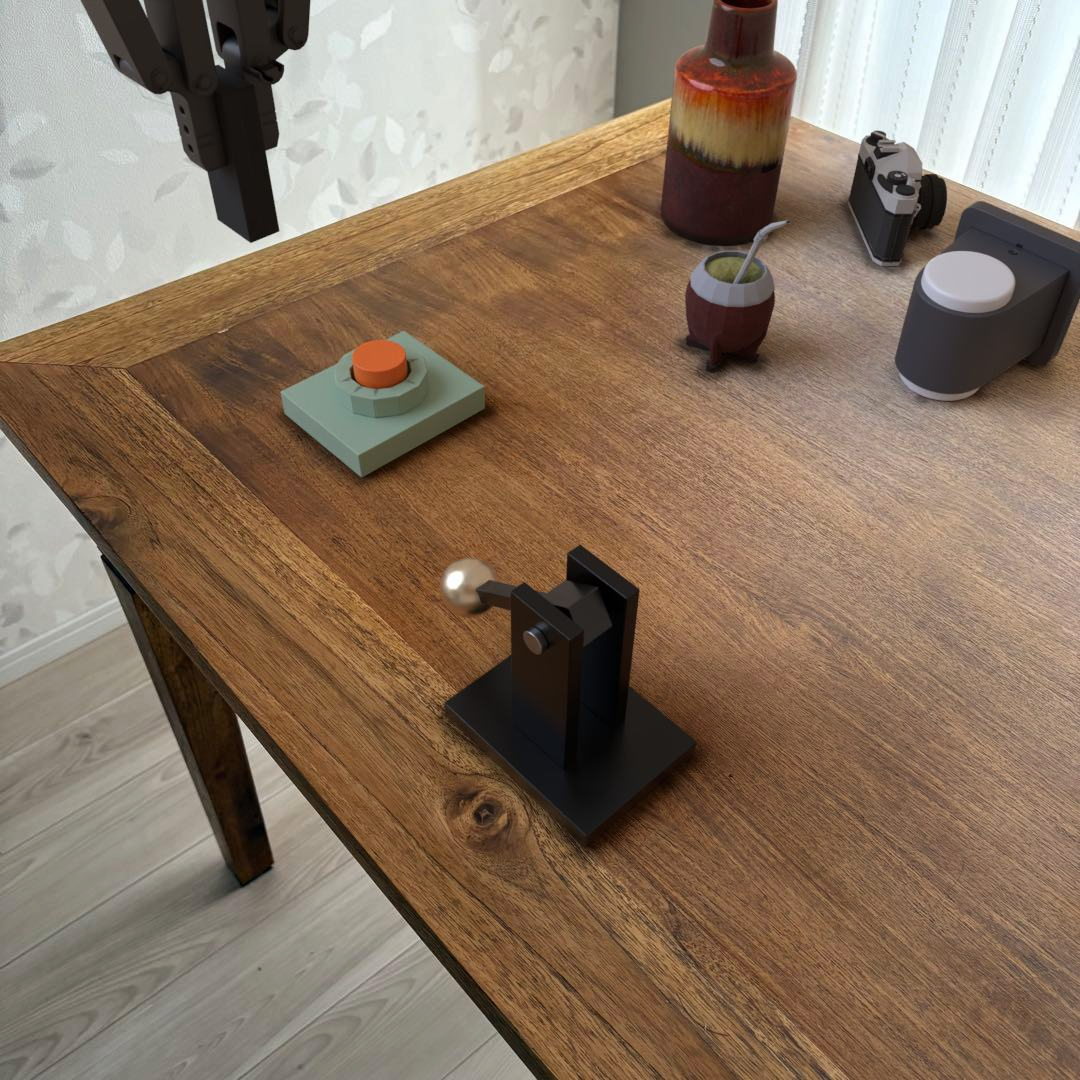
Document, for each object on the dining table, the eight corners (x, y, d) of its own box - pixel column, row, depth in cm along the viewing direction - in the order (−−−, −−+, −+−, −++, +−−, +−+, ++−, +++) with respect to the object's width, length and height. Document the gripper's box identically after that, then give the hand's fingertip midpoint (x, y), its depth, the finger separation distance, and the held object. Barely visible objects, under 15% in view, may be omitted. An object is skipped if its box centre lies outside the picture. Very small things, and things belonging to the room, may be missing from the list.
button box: (361, 478, 81) (355, 436, 78) (284, 414, 86) (276, 372, 83) (485, 408, 87) (484, 367, 84) (406, 352, 92) (402, 311, 89)
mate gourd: (695, 319, 96) (717, 154, 85) (784, 342, 94) (818, 176, 83) (665, 365, 91) (684, 197, 80) (757, 391, 89) (789, 222, 78)
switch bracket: (444, 715, 67) (432, 570, 57) (553, 636, 71) (557, 490, 62) (585, 849, 60) (596, 710, 51) (694, 754, 65) (723, 610, 56)
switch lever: (441, 624, 67) (419, 572, 66) (486, 594, 69) (465, 543, 68) (577, 665, 56) (553, 605, 55) (626, 628, 58) (604, 569, 57)
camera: (956, 268, 102) (983, 173, 96) (873, 269, 102) (895, 174, 96) (910, 207, 112) (932, 117, 106) (834, 208, 111) (853, 118, 105)
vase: (760, 188, 112) (795, -26, 98) (781, 245, 105) (823, 21, 90) (653, 190, 112) (673, -25, 97) (668, 247, 104) (691, 23, 90)
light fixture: (854, 371, 92) (880, 258, 84) (946, 304, 98) (978, 192, 90) (969, 435, 86) (1009, 320, 78) (1059, 359, 92) (1105, 245, 84)
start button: (375, 397, 82) (373, 378, 81) (343, 372, 84) (341, 354, 83) (418, 375, 84) (416, 356, 83) (386, 351, 86) (384, 333, 85)
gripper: (229, -512, 38) (320, 150, 54) (-171, -501, 31) (72, 244, 48) (362, -500, 34) (416, 207, 51) (-62, -486, 28) (160, 317, 44)
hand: (248, 224), depth 49 cm, fingers closed
